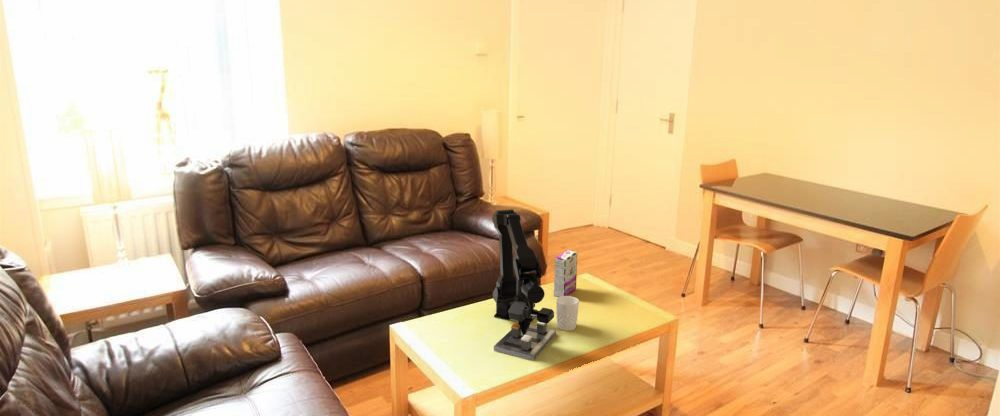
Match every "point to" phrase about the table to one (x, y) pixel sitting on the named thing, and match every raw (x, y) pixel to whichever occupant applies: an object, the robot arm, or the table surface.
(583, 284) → the table surface
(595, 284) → the table surface
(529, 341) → the block
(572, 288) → the candy bar box
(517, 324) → the block
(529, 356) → the panel
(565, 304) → the white cup
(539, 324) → the block
